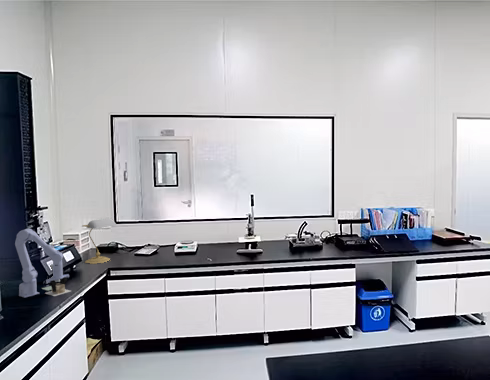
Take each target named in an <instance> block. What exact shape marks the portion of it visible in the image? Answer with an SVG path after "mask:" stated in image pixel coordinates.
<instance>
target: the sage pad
mask: <svg viewBox="0 0 490 380" xmlns="http://www.w3.org/2000/svg"><path fill="white" fill-rule="evenodd" d="M41 289H42V290H44V291H46V292H50V291H52V287H51V285H49V286H45V287H41Z"/></svg>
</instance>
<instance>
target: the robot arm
mask: <svg viewBox="0 0 490 380" xmlns="http://www.w3.org/2000/svg"><path fill="white" fill-rule="evenodd" d="M27 241H34V242H35V243H36V244H37V245H38V246H39V247H41V248H42V249H43V250H42V251H43V252H44V253H45V254H46V255H47V256H48V257H50V258H51V261H52V263H53V277H52V278H49V279H48V278H47V279H46V283H49V286H51V287H52V290H53V291H54V292H55V291H56V284H57V282H55V280H59V279H60V282H59V283H60V284H64V285H65V286H66V284H67V283H66V282H67V281H68V279H69V278H70V274H69V273H66V274H64V273H63V272H64V269H63V258H64V254H63V253H62V252H61V251H59V250H57V249H56V248H55V246H54V245H52V244H48V243H46V242H45V241H44V240H43V238H42V237H40V236H39V235H38V233H37V232H36V231H35V230H33V229H32V228H28V227H27V228H25V229H22V230H20V231H18V233H17V234H16V238H15V243H14V245H15V249H16V252H17V255H18V259H19V261H20V263H21V268H22V272H21V274H22V277H21V280H22V281H23V282H22V283H20V284H19V287H18V289H19V290H18V296H19V297H22V298H28V297H33V296H35V295H40V292H38V291H37V278H38V271H37V270H36V269H35V267H34V266H33V265H32V262H31V260H30V259H31V258H30V255H29V252H28V249H27V247H26V243H27ZM52 290H51V291H52Z"/></svg>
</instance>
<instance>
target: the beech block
mask: <svg viewBox="0 0 490 380" xmlns="http://www.w3.org/2000/svg"><path fill="white" fill-rule="evenodd" d="M65 289H66V284H65V285H64V284H61V282H56V291H55V292H54V291H53V290H51V291H52V292H53V293H56V294H59V293H63V292H65Z"/></svg>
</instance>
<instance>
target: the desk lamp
mask: <svg viewBox="0 0 490 380" xmlns="http://www.w3.org/2000/svg"><path fill="white" fill-rule="evenodd" d="M116 225H117V223H116V222H115V221H114V220H113V219H112V218H109V217H106V218H101V219H94V220H90V221H89V222H88V223H87V224H84V225H83V224H82V227H84V228H85V227H86V229H90V230H89V231H88V237H89V239H90V240H91V242H92V244H93V247H94V248H95V249H96V252H95V256H93V257H91V258H89V259H87V260H86V259H85V261H84V263H85V264H86V263H90V264H89V265H98V264H97V263H101V264H105V263H104V262H106V263H108V262H107V261H109V260H110V259H111V258H109V257H106V256H101V253H100V252H99V249H98V247H97V246H96V243H95V242H94V240H93V238H92V236H91V232H92V230H93V229H102V228H106V227H112V226H116ZM110 261H111V260H110ZM110 261H109V262H110Z"/></svg>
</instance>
